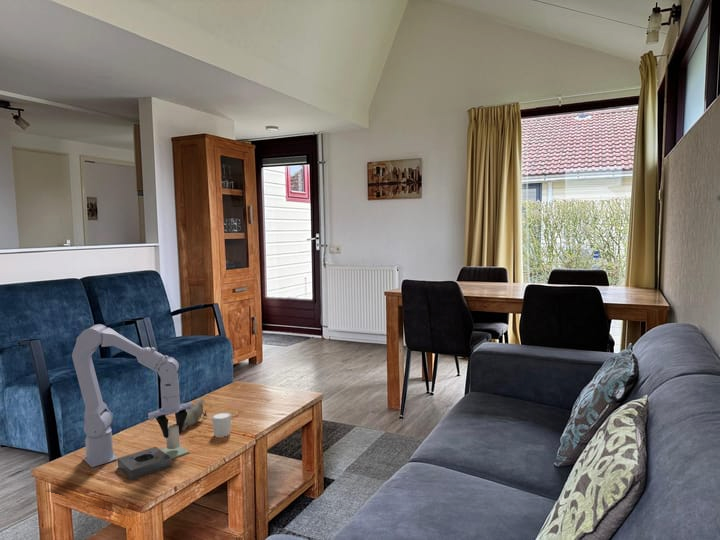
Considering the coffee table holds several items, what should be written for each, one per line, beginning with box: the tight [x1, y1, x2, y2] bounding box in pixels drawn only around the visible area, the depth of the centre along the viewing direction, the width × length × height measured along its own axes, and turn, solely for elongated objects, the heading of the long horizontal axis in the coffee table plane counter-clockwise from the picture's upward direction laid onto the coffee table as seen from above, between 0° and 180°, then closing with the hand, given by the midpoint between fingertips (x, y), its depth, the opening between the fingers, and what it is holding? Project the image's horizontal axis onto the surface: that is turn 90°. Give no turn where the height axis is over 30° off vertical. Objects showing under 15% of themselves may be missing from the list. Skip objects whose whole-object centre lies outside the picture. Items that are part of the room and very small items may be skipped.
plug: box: [165, 423, 181, 449], centre depth 168 cm, size 4×4×7 cm
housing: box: [117, 446, 172, 481], centre depth 158 cm, size 12×12×3 cm
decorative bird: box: [182, 398, 208, 433], centre depth 194 cm, size 5×16×7 cm, turn 169°
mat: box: [159, 445, 191, 460], centre depth 168 cm, size 9×7×1 cm
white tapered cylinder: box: [211, 412, 232, 438], centre depth 183 cm, size 7×7×7 cm
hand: (172, 435), depth 168 cm, fingers closed on plug, 4 cm apart
